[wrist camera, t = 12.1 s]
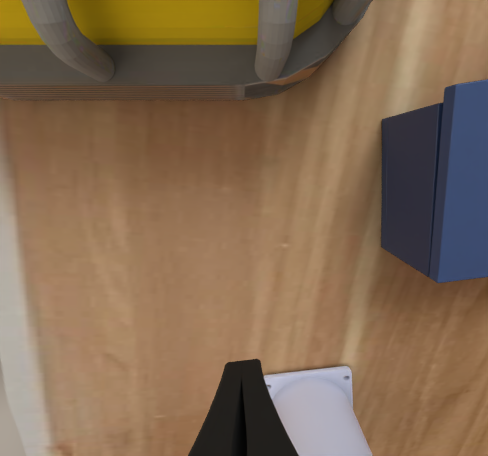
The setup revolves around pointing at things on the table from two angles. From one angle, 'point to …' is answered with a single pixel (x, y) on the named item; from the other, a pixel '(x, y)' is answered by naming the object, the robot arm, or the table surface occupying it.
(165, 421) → the table surface
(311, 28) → the cage light
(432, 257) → the lid
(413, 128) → the case
